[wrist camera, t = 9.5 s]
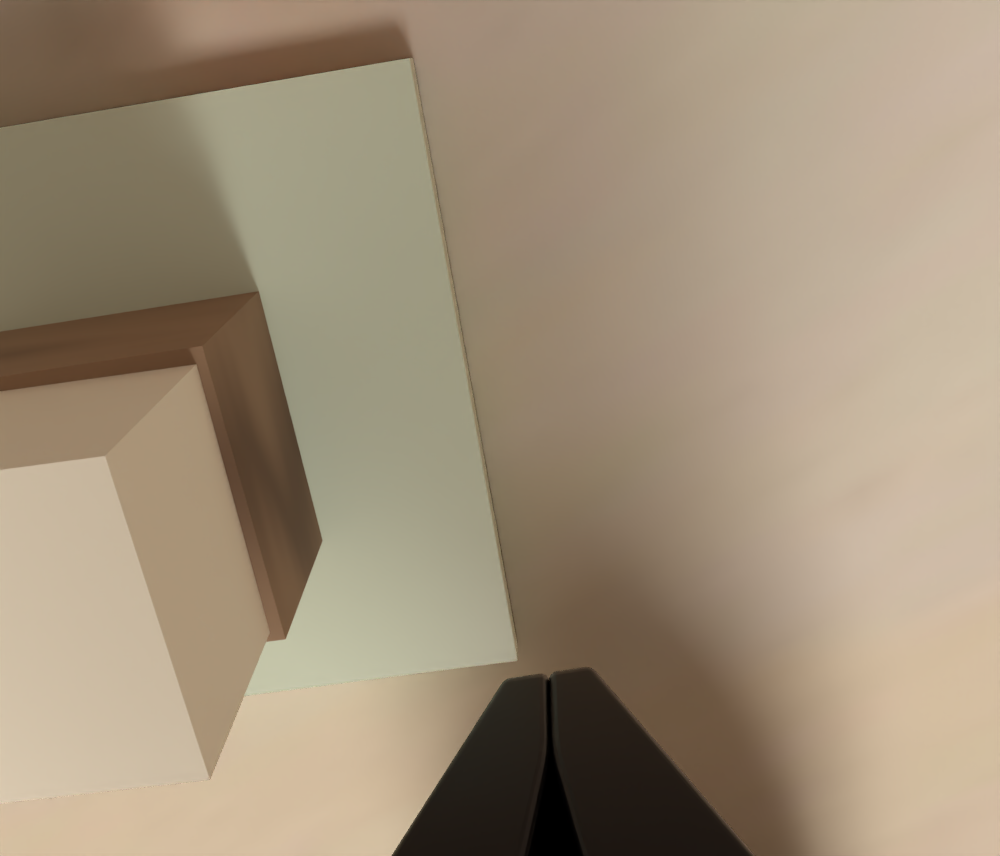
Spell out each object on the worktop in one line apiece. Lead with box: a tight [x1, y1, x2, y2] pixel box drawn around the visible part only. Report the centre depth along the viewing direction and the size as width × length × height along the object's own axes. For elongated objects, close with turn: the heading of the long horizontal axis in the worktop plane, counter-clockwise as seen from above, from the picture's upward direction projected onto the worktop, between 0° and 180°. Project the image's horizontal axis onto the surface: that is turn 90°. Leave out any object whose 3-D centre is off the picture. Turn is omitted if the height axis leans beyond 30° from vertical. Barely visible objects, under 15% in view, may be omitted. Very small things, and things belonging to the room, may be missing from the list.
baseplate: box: [0, 58, 517, 696], centre depth 22 cm, size 14×14×1 cm
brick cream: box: [0, 364, 270, 804], centre depth 16 cm, size 6×6×4 cm
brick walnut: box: [0, 291, 323, 642], centre depth 19 cm, size 6×6×4 cm
